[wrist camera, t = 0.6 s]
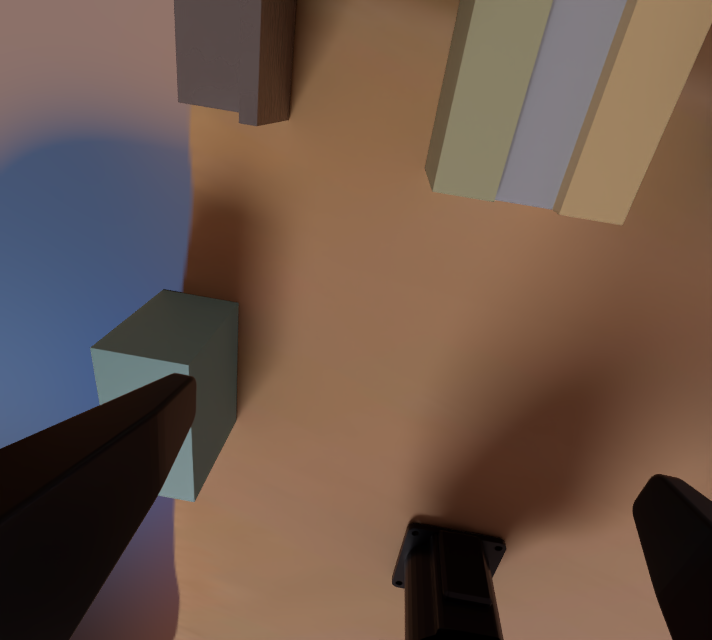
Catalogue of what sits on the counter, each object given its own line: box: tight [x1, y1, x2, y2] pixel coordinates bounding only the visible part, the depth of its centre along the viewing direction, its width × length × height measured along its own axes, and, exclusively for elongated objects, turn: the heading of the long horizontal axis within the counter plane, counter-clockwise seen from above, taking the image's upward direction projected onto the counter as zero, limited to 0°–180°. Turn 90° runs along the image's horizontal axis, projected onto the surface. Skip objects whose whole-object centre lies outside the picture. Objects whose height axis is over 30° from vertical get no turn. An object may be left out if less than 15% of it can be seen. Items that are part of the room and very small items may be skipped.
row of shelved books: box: [425, 0, 712, 225], centre depth 14 cm, size 8×6×6 cm
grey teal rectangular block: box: [90, 289, 239, 502], centre depth 22 cm, size 8×4×6 cm, turn 172°
